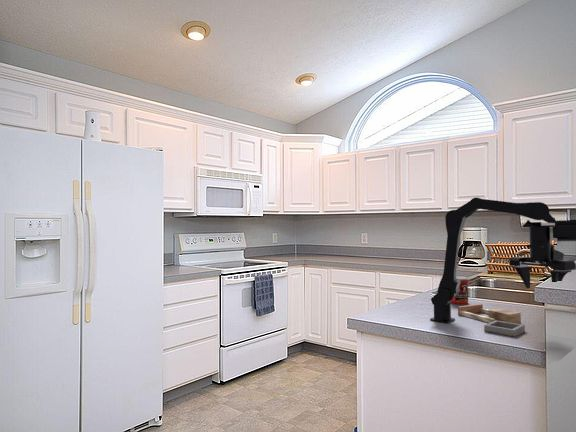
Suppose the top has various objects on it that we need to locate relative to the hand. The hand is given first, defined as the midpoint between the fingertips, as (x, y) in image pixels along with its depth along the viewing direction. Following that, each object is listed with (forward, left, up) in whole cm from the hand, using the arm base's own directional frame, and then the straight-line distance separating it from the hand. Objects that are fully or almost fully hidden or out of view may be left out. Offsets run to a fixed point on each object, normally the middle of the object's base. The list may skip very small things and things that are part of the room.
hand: (541, 290), depth 131 cm
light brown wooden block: (+5, +13, -13) cm, 19 cm away
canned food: (+26, +40, -13) cm, 49 cm away
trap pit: (-8, +9, -13) cm, 18 cm away
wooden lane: (+7, +21, -13) cm, 26 cm away
